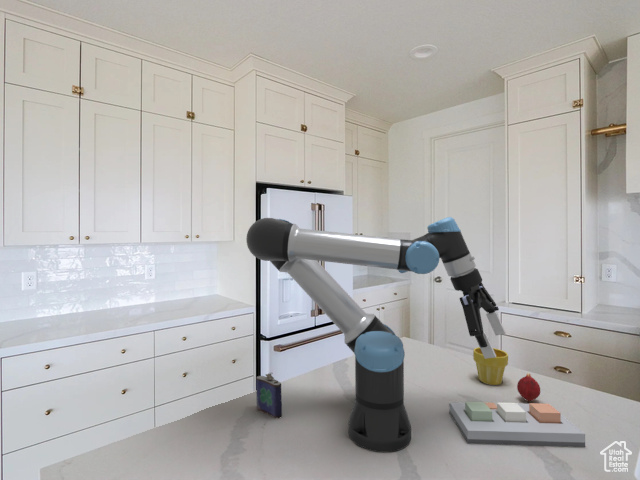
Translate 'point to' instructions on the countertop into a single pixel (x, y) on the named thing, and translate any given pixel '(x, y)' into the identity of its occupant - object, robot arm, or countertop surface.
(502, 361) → the plant pot
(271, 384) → the flask
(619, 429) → the countertop surface
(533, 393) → the onion
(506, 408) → the key offwhite
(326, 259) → the robot arm
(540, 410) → the key terracotta
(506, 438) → the keypad
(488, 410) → the key sage
